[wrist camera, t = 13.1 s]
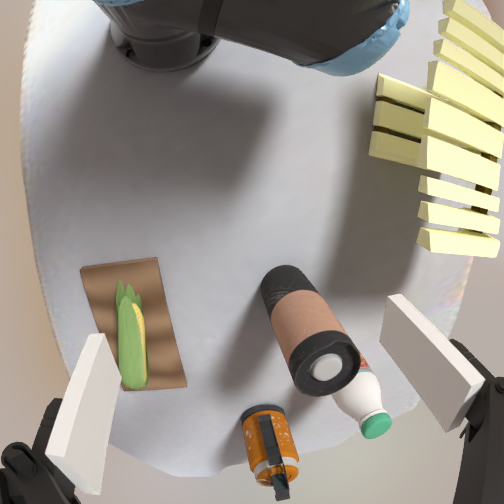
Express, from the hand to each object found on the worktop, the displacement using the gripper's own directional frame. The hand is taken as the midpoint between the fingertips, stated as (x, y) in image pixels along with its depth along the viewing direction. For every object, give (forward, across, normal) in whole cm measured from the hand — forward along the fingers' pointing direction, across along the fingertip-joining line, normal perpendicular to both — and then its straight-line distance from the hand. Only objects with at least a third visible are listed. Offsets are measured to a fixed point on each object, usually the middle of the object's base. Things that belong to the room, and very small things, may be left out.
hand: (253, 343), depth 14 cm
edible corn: (+30, -15, -19) cm, 39 cm away
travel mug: (+31, +9, -15) cm, 36 cm away
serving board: (+31, -15, -20) cm, 40 cm away
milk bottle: (+31, +18, -30) cm, 47 cm away
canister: (+31, +4, -44) cm, 54 cm away
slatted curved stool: (+32, +31, +10) cm, 46 cm away
